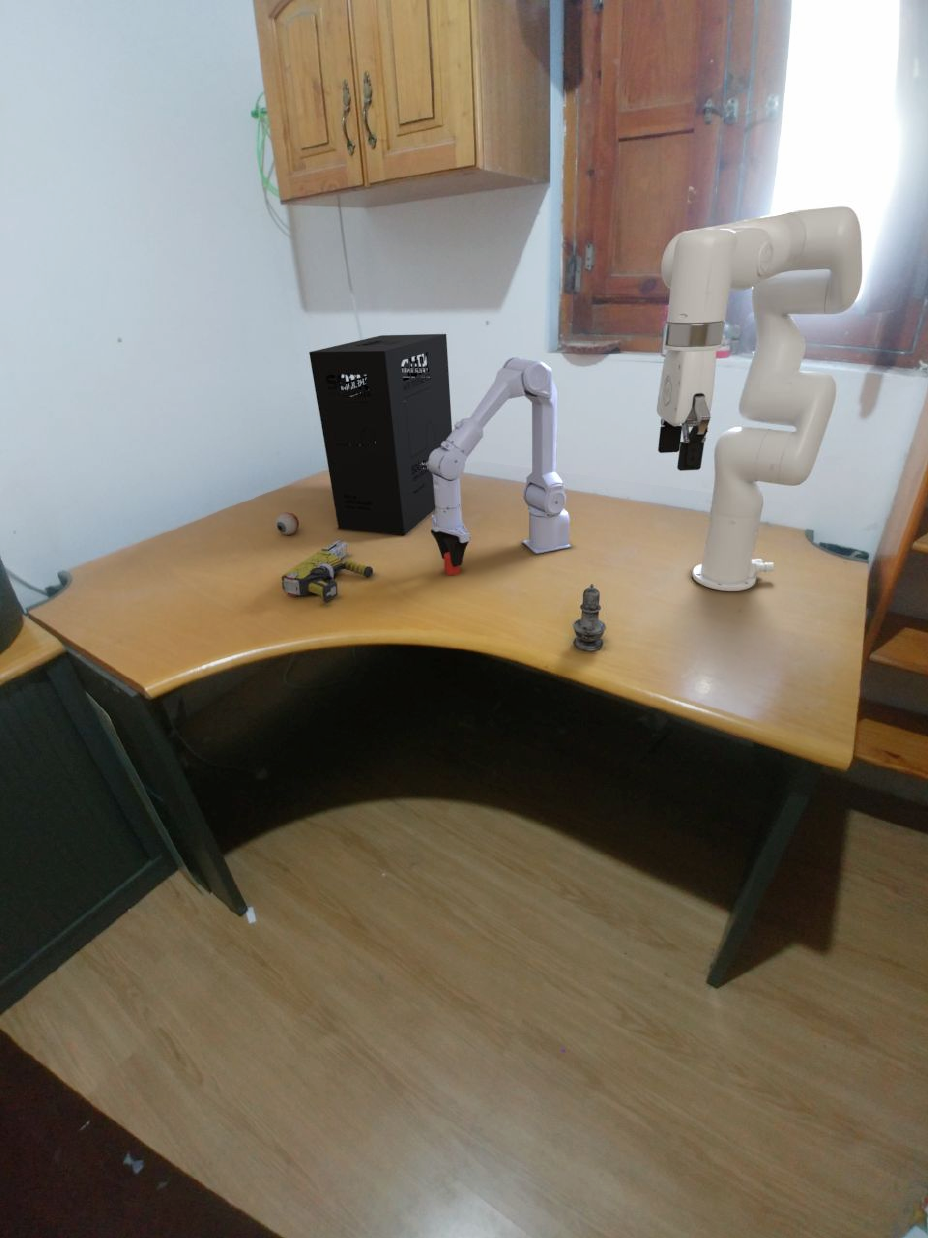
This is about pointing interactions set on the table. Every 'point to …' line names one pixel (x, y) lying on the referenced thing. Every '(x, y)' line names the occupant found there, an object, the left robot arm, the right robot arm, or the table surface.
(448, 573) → the canister
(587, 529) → the table surface
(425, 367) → the cardboard box
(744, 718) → the table surface
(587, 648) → the grey tiered stone figure
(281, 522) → the eyeball
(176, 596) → the table surface
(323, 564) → the toy gun
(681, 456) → the right robot arm
